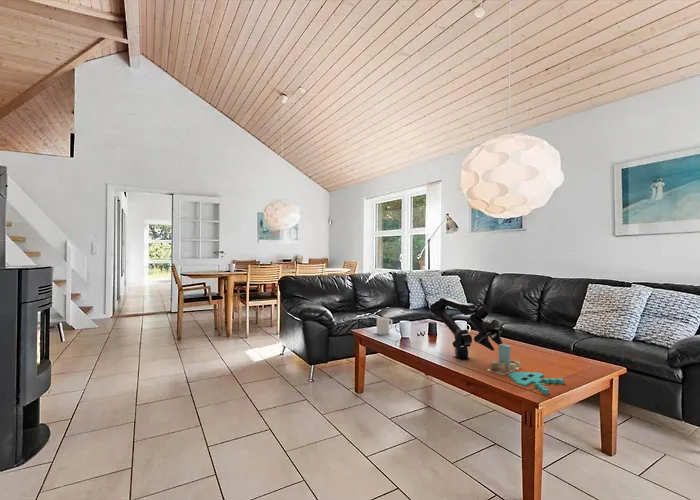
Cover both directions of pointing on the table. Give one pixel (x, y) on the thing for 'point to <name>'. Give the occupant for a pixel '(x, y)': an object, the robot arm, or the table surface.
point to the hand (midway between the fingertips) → (498, 348)
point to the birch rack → (510, 367)
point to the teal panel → (504, 354)
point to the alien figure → (533, 380)
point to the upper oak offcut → (498, 364)
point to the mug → (383, 325)
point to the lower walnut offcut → (499, 369)
